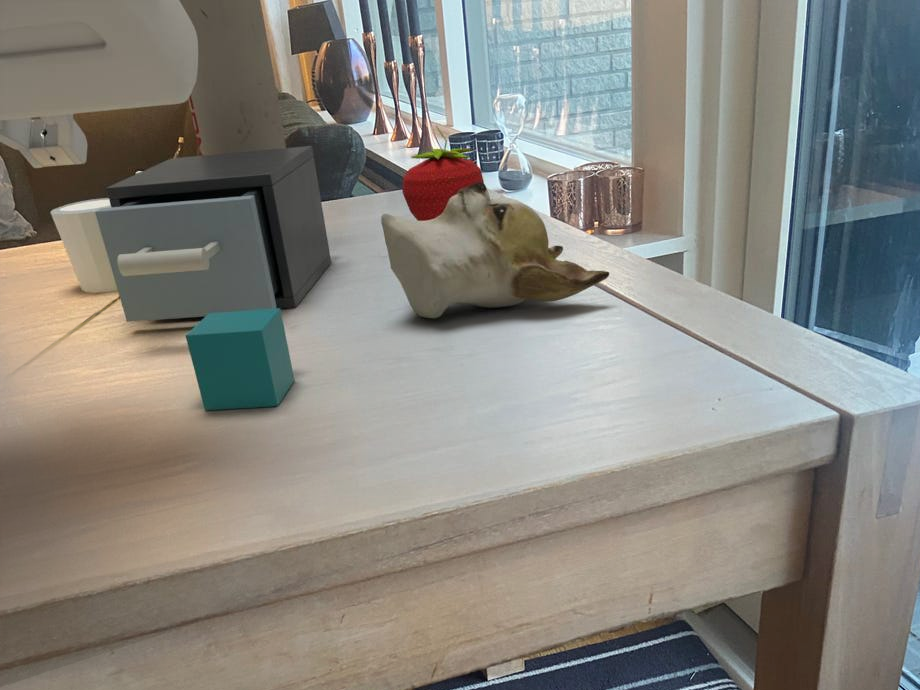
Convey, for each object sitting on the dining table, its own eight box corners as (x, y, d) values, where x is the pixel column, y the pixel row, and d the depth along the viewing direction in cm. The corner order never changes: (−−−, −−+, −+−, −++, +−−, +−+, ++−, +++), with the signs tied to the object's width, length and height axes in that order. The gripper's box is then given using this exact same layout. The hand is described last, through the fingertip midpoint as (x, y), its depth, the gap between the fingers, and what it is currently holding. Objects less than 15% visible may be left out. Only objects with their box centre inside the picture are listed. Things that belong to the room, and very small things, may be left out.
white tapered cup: (63, 292, 86) (36, 209, 83) (131, 274, 90) (109, 194, 86) (98, 302, 82) (71, 215, 78) (168, 282, 86) (146, 198, 82)
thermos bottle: (214, 263, 91) (127, -107, 76) (235, 244, 98) (159, -99, 82) (295, 256, 91) (225, -118, 75) (311, 238, 97) (250, -110, 81)
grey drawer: (256, 330, 67) (231, 211, 63) (102, 341, 68) (66, 225, 64) (311, 267, 82) (293, 167, 78) (183, 277, 83) (159, 179, 79)
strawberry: (399, 252, 88) (383, 131, 83) (471, 237, 91) (460, 118, 85) (426, 262, 84) (411, 135, 78) (501, 246, 86) (492, 122, 81)
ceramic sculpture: (364, 178, 68) (561, 164, 72) (374, 302, 73) (558, 284, 76) (395, 202, 60) (617, 185, 63) (405, 341, 65) (610, 318, 68)
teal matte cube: (204, 411, 57) (185, 335, 54) (226, 384, 61) (208, 313, 58) (277, 406, 57) (261, 330, 54) (294, 380, 60) (280, 307, 58)
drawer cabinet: (295, 307, 75) (270, 173, 70) (142, 318, 76) (105, 187, 71) (331, 263, 87) (312, 145, 82) (198, 273, 88) (170, 158, 83)
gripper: (128, -165, 39) (245, 88, 52) (-326, -109, 41) (-101, 121, 55) (119, -34, 38) (241, 191, 51) (-348, 18, 40) (-112, 220, 53)
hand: (62, 155), depth 53 cm, fingers closed
